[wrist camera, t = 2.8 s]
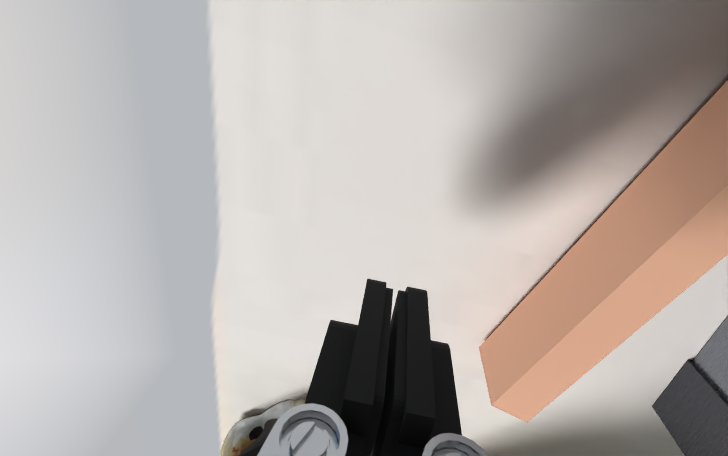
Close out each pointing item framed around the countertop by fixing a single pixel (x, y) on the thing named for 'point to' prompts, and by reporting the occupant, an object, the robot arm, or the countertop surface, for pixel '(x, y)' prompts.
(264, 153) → the countertop surface
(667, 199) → the tong arm
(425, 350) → the robot arm
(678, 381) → the base
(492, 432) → the countertop surface
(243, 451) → the pastry
